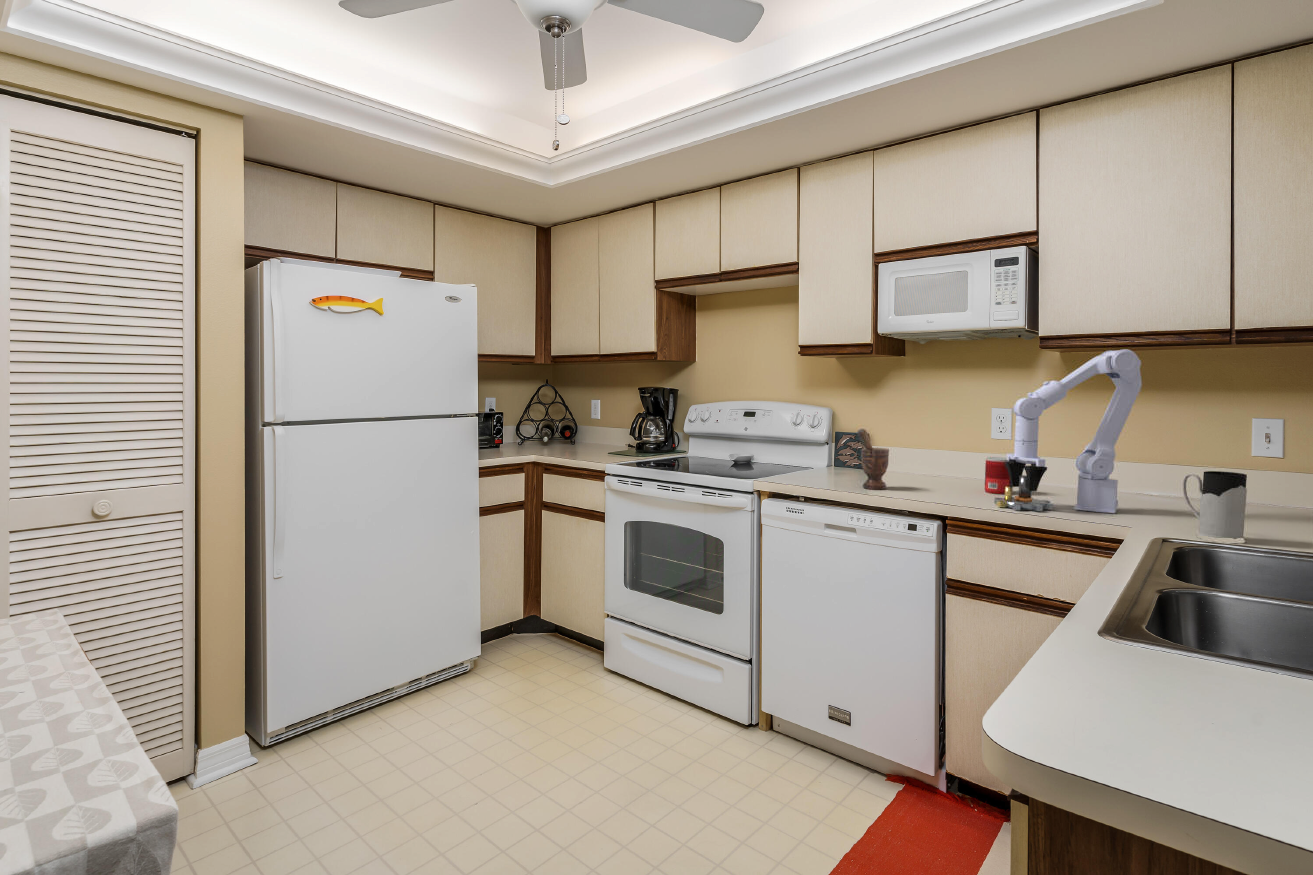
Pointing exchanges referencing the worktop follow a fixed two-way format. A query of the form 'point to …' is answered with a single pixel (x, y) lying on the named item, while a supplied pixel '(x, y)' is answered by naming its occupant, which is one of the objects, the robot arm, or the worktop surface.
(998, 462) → the canned food
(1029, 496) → the roller
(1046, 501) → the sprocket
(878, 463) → the mortar and pestle
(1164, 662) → the worktop surface
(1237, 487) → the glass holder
